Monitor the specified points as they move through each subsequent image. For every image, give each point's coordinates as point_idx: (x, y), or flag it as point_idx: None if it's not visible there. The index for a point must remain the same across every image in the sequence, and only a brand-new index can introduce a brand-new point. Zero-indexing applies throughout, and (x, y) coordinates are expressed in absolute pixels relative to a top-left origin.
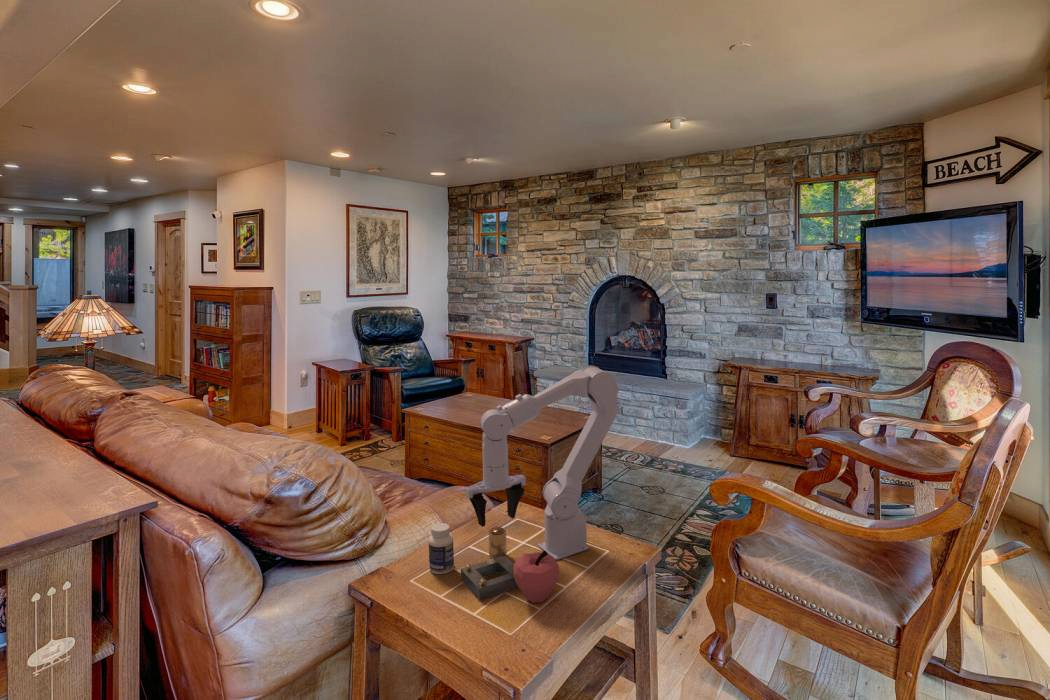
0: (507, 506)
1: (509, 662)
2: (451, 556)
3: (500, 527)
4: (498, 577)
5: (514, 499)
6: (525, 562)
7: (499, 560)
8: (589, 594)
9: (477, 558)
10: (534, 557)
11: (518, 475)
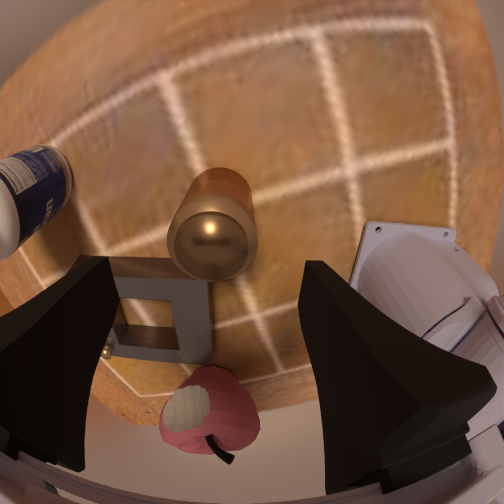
0: (326, 288)
1: (128, 412)
2: (40, 226)
3: (240, 234)
4: (148, 348)
5: (324, 429)
6: (181, 446)
7: (178, 296)
8: (297, 393)
9: (150, 173)
10: (215, 434)
11: (495, 494)
